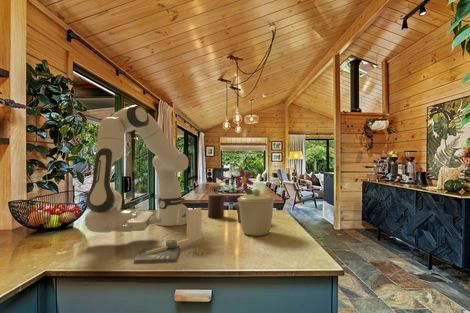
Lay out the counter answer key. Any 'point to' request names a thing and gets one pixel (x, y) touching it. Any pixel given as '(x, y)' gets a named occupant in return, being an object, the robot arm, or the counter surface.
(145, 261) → the dial board
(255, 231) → the canister
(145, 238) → the counter surface
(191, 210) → the upright cream panel
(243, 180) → the flowerpot
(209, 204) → the pillar candle
